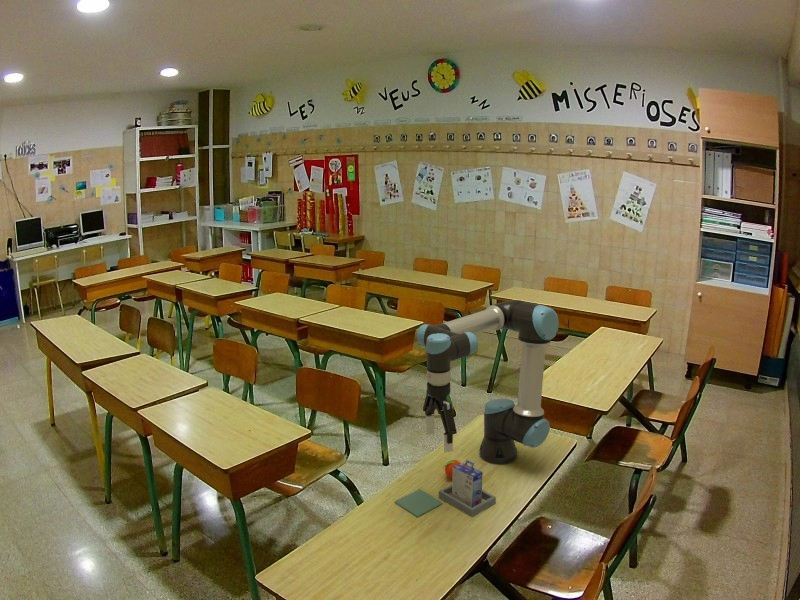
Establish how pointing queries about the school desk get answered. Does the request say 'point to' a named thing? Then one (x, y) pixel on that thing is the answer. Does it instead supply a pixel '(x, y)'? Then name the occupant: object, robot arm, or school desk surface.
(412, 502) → the mat
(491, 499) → the grey rectangular frame
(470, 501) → the ink cartridge box
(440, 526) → the school desk surface
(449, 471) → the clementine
